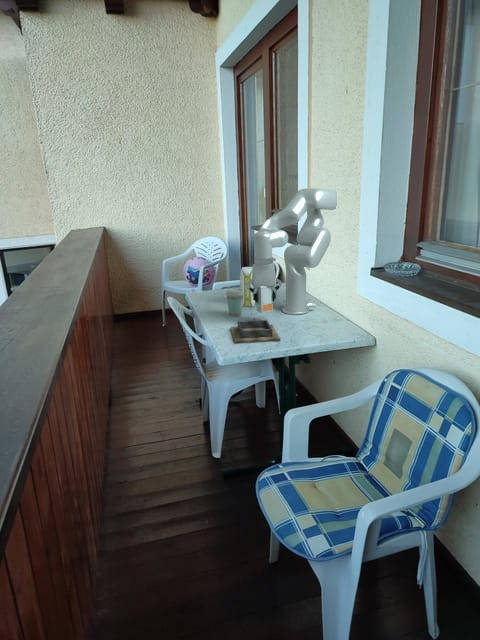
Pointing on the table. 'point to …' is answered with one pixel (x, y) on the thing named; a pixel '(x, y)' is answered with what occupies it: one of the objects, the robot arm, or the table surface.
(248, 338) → the wooden framed tray
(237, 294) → the coffee cup
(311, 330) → the table surface
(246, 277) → the juice carton
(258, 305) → the skincare box
